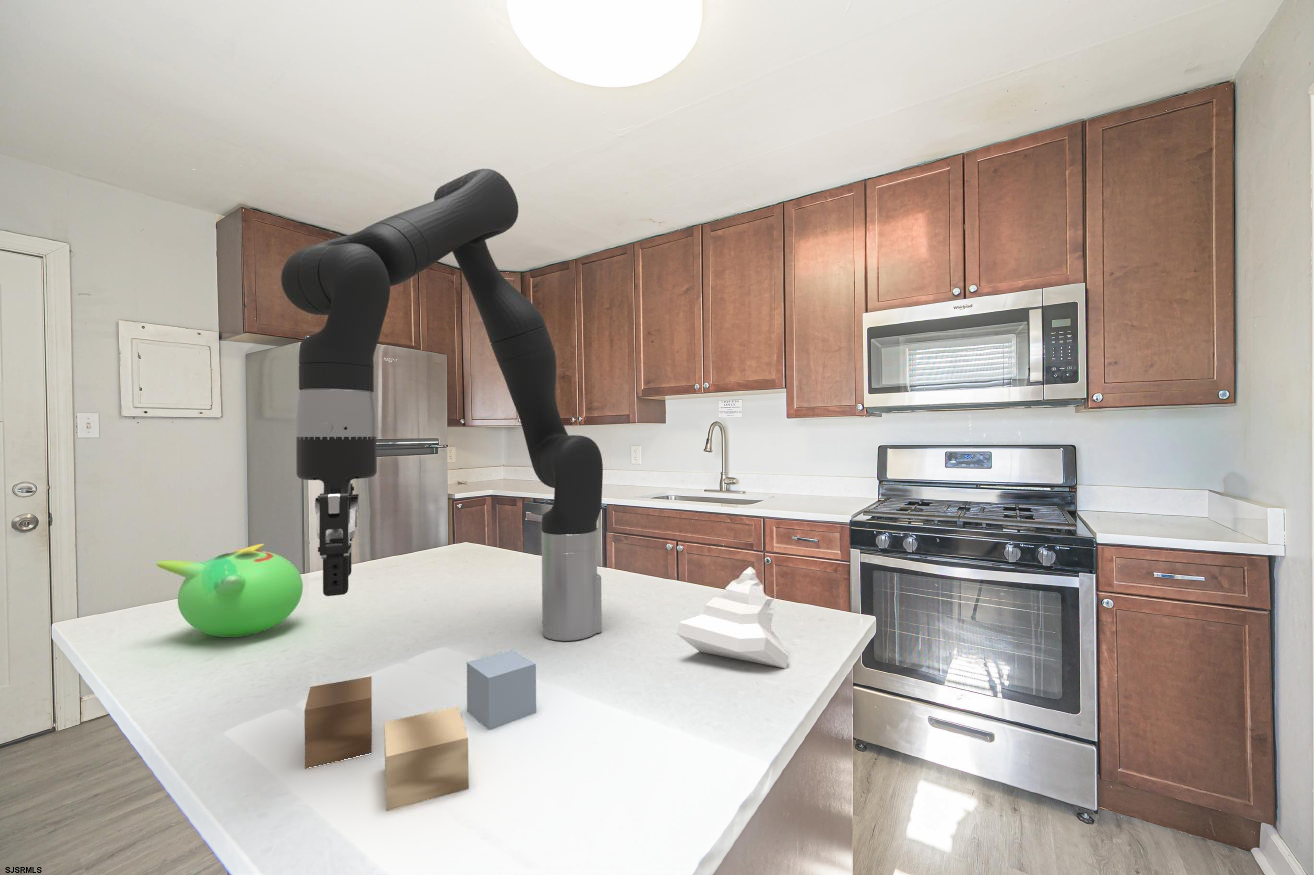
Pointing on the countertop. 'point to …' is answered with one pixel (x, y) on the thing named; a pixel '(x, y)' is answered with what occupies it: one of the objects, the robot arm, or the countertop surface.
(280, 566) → the toy bird
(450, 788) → the oak base block
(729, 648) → the white seashell
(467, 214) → the robot arm
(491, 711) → the slate block
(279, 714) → the countertop surface
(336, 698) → the walnut block
